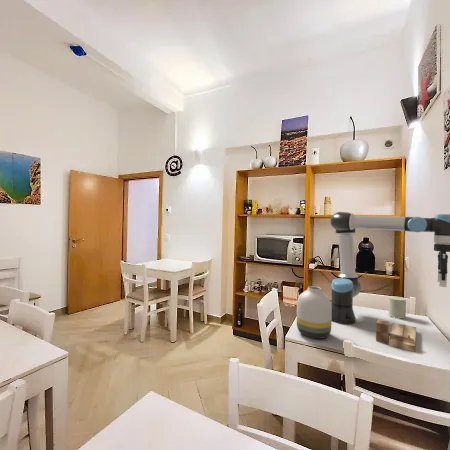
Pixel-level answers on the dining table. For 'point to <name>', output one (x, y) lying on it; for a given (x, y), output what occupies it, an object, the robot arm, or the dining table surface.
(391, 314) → the can
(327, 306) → the vase
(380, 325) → the brown wooden block
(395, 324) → the board
